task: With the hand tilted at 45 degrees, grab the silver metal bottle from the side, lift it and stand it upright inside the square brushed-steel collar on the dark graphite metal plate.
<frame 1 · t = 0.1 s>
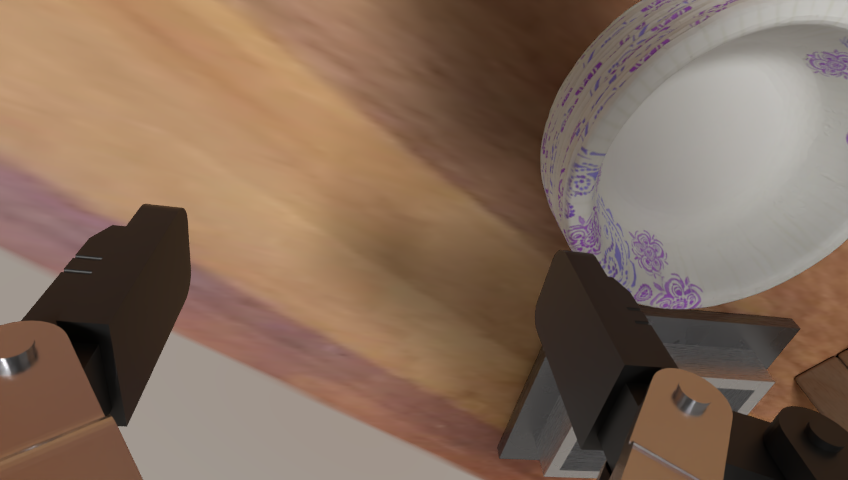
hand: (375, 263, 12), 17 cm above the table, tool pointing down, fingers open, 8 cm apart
paper bowls: (662, 108, 29), on the table
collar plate: (631, 389, 44), on the table
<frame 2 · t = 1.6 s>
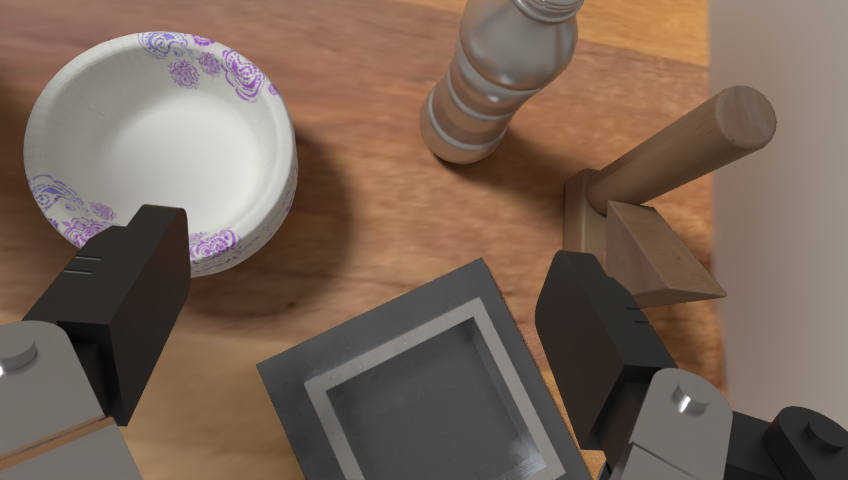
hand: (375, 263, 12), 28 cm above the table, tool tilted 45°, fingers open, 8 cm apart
wooden block: (580, 247, 44), on the table
silver metal bottle: (454, 135, 44), on the table
paper bowls: (194, 183, 40), on the table
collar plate: (426, 421, 39), on the table
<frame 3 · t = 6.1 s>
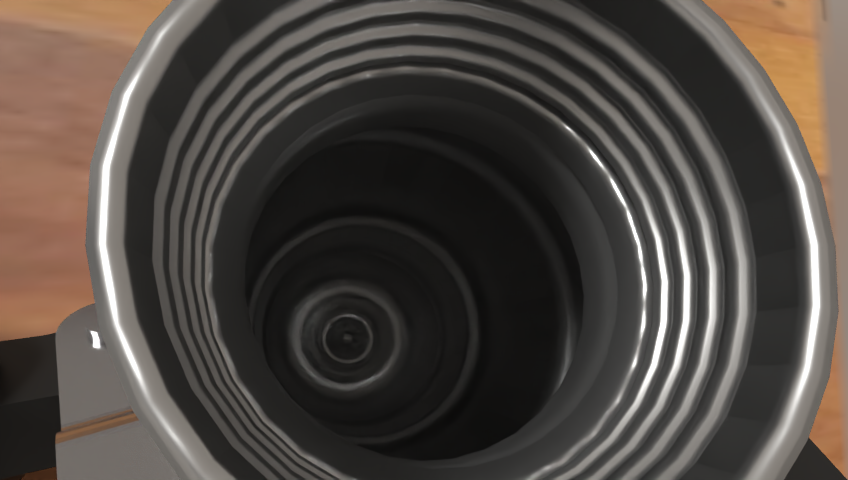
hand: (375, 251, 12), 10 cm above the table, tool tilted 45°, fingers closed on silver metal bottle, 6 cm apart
silver metal bottle: (348, 339, 22), on the table, touching gripper
when the fingers open (13 cm above the table, at t = 12.2 s): silver metal bottle drops 1 cm, resting on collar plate.
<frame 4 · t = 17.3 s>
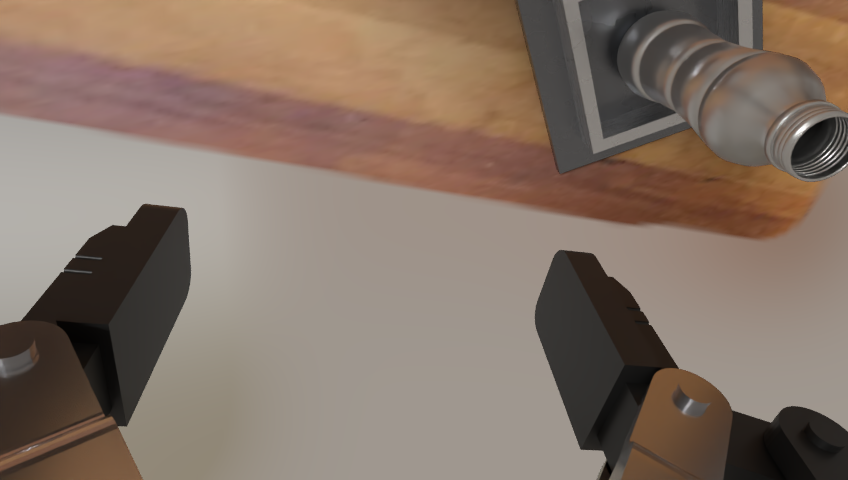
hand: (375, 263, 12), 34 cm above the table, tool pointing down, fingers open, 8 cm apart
silver metal bottle: (648, 48, 43), point 1 cm above the table, touching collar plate
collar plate: (641, 36, 43), on the table
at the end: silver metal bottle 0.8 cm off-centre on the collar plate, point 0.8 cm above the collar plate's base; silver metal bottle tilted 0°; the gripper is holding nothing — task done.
